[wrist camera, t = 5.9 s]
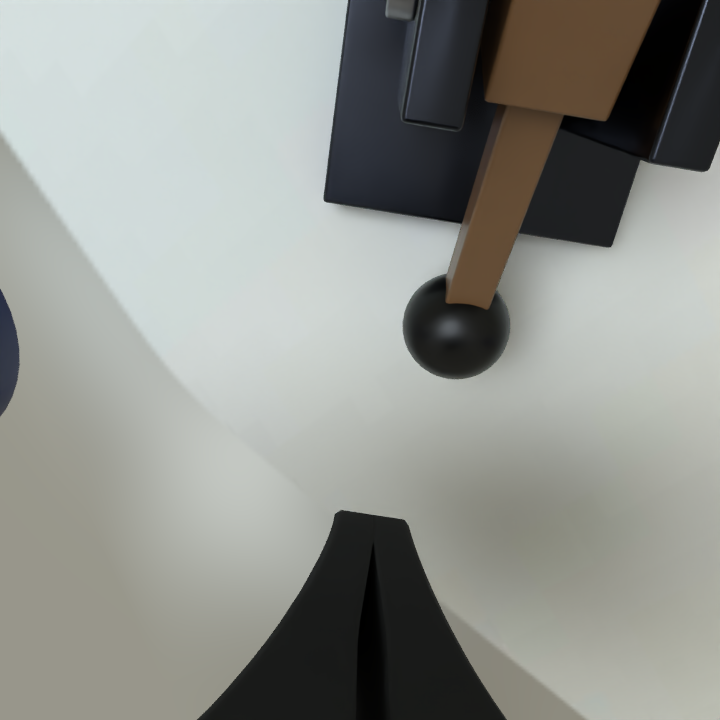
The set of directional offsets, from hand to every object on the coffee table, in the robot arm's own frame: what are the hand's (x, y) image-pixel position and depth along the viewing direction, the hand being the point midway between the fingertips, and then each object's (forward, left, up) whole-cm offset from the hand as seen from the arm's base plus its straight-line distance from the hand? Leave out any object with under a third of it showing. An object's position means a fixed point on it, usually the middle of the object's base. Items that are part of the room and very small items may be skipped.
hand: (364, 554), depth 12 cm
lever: (+2, +7, -6) cm, 9 cm away
